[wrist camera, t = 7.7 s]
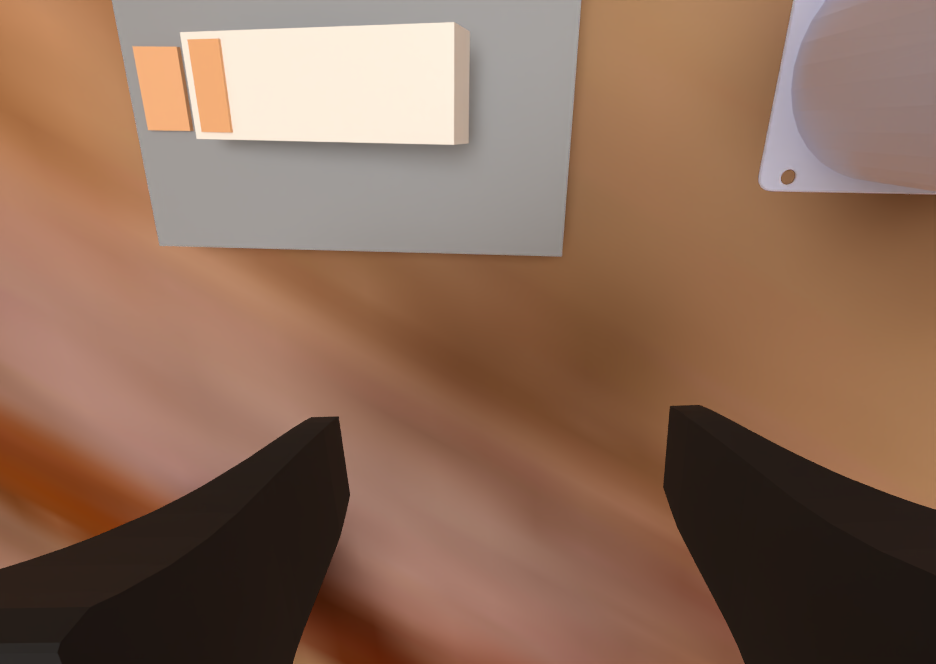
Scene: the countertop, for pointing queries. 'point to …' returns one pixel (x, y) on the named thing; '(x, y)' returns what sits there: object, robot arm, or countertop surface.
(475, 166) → the panel
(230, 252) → the countertop surface
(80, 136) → the countertop surface
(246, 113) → the rocker
